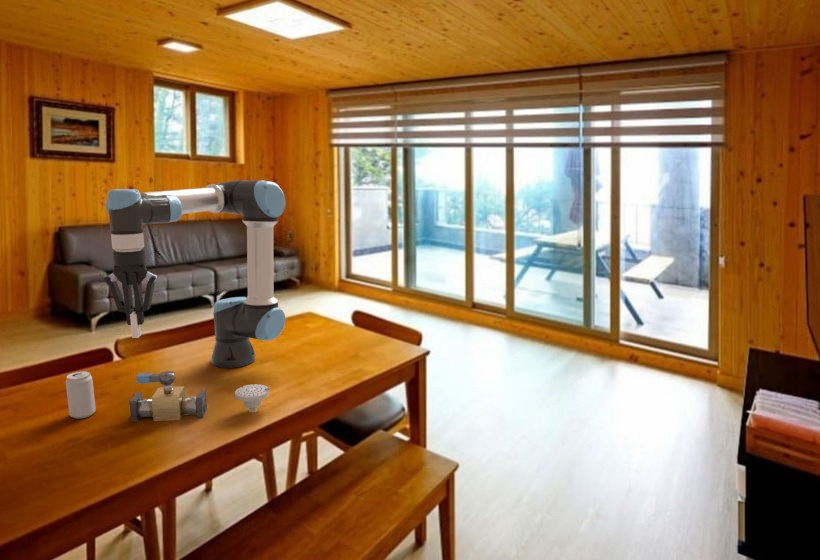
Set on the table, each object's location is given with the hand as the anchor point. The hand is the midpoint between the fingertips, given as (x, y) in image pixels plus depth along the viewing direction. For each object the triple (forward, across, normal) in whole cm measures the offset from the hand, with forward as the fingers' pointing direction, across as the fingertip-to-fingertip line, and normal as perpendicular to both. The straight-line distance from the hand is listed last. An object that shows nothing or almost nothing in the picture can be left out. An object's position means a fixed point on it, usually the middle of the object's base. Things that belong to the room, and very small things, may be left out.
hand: (136, 336), depth 148 cm
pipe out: (+24, 0, -2) cm, 24 cm away
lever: (+14, -3, -3) cm, 15 cm away
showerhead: (+25, -29, -3) cm, 38 cm away
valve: (+24, -6, -3) cm, 25 cm away
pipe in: (+24, -12, -3) cm, 27 cm away
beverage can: (+25, +18, -5) cm, 31 cm away
